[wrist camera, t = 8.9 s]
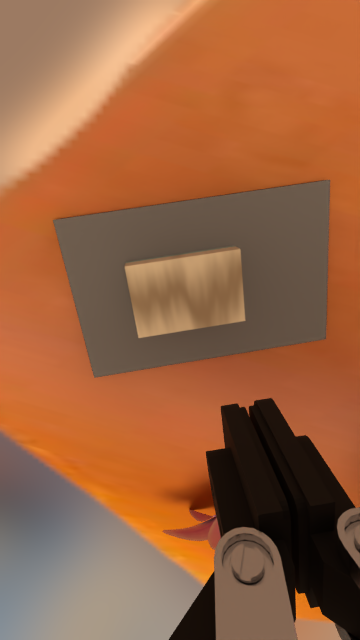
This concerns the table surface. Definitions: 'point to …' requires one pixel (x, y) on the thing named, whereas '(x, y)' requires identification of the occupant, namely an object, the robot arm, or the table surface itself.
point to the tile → (186, 291)
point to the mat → (196, 235)
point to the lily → (200, 530)
